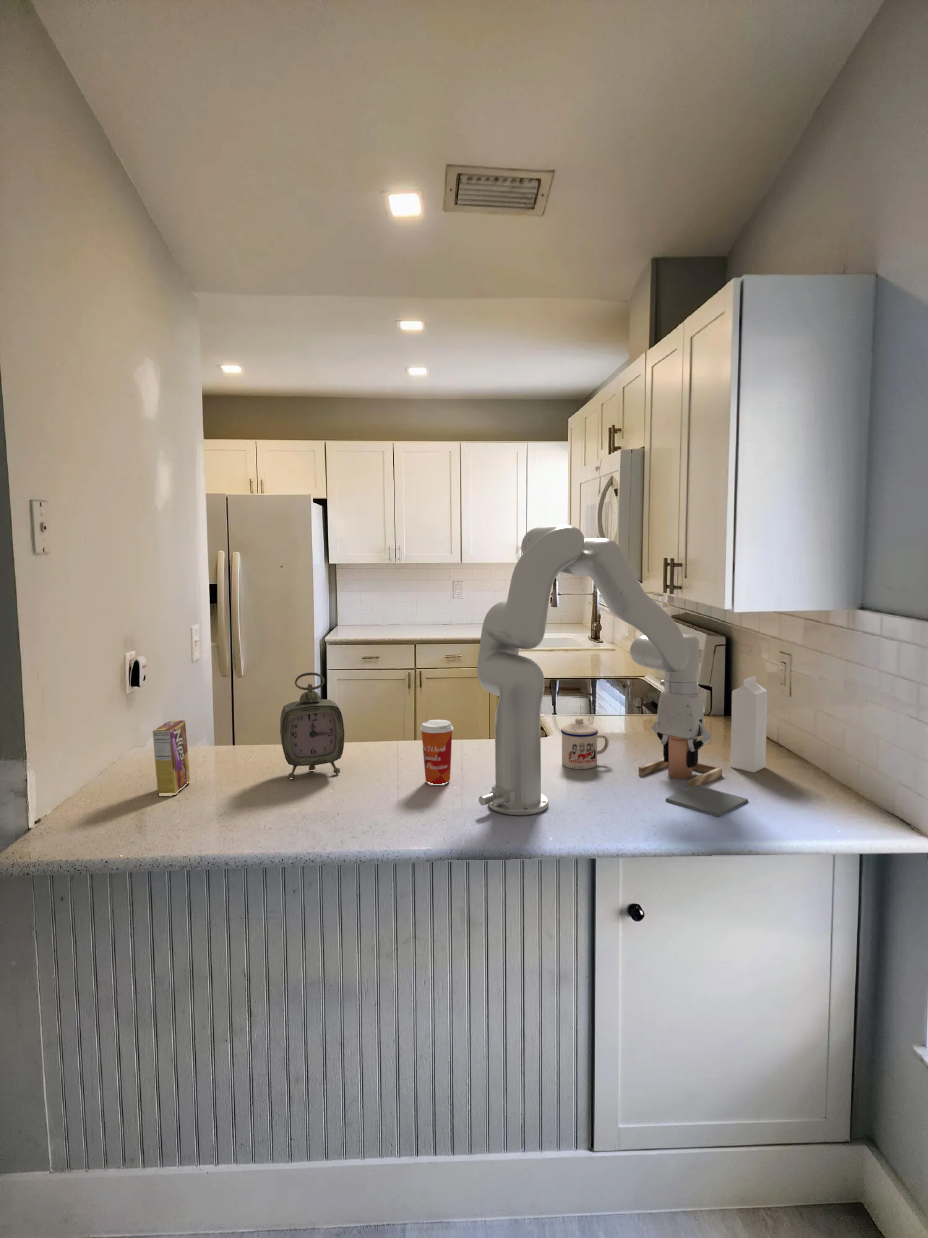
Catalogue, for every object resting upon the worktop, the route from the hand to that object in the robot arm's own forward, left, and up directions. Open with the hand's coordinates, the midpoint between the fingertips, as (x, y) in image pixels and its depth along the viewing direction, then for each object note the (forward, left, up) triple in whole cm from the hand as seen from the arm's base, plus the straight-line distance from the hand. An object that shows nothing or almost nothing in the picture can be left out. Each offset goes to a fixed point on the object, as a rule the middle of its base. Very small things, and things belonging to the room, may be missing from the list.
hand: (680, 763), depth 163 cm
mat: (-11, -13, -3) cm, 17 cm away
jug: (+1, 0, -3) cm, 3 cm away
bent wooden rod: (0, 0, -3) cm, 3 cm away
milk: (+17, -8, -3) cm, 19 cm away
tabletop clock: (-62, +62, -3) cm, 88 cm away
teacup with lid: (-9, +21, -3) cm, 23 cm away
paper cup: (-44, +36, -3) cm, 57 cm away
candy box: (-91, +74, -3) cm, 117 cm away
